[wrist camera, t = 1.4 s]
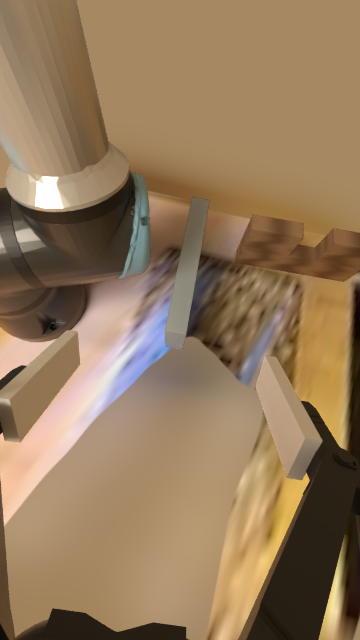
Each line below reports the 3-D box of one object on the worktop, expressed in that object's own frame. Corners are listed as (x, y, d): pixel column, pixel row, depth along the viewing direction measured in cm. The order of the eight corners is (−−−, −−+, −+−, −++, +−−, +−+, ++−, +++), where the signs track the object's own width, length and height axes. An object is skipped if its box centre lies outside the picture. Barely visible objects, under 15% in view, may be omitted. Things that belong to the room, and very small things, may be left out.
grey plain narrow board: (182, 349, 42) (186, 334, 33) (165, 346, 42) (164, 330, 33) (202, 238, 50) (209, 200, 40) (188, 235, 50) (192, 197, 40)
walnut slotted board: (235, 262, 48) (251, 229, 39) (236, 250, 49) (252, 214, 40) (343, 281, 48) (386, 252, 38) (342, 268, 49) (384, 237, 39)
